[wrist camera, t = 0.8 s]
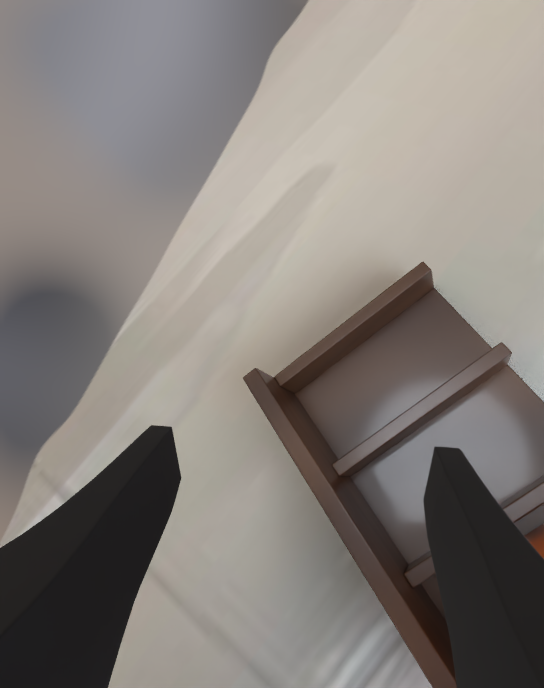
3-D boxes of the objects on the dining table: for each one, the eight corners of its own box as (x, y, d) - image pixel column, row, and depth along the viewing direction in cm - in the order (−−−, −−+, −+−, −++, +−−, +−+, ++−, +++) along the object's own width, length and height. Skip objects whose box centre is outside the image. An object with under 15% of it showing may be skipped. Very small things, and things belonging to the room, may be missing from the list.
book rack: (703, 576, 19) (796, 614, 14) (483, 704, 21) (490, 783, 15) (427, 285, 27) (418, 238, 21) (283, 396, 28) (241, 377, 23)
